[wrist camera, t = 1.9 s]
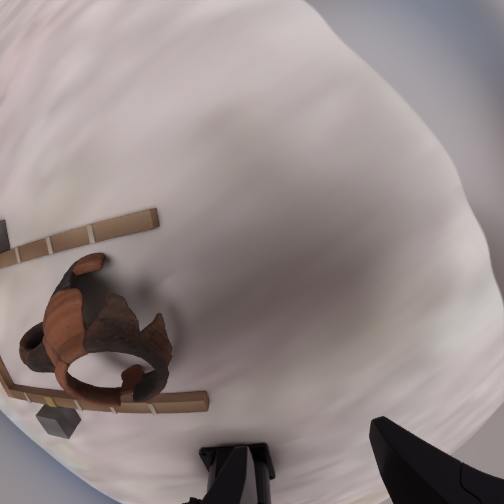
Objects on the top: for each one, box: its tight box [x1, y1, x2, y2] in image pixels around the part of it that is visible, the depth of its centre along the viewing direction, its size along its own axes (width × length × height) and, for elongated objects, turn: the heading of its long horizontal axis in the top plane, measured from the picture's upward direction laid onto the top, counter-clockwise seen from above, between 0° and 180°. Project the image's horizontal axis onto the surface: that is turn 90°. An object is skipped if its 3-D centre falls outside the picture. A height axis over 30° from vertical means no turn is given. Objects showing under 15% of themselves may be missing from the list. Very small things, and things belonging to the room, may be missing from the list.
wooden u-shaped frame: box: [0, 208, 209, 439], centre depth 18 cm, size 21×25×3 cm
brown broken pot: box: [19, 253, 172, 407], centre depth 17 cm, size 12×10×8 cm
